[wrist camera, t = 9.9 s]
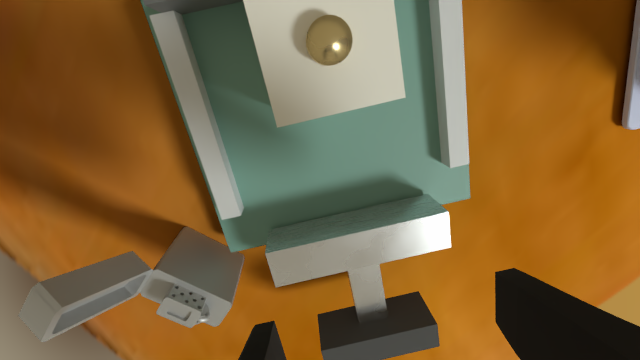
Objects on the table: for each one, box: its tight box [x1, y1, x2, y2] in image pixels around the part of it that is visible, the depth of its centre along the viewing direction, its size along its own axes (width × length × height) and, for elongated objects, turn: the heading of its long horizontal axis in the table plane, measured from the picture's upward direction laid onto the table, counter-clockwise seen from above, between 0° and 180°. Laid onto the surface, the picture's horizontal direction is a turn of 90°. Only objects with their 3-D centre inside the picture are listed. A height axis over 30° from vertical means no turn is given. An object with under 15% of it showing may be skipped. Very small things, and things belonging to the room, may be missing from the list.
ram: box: [265, 194, 451, 360], centre depth 17 cm, size 9×7×4 cm
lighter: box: [18, 227, 245, 342], centre depth 15 cm, size 7×2×8 cm, turn 56°
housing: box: [243, 0, 406, 128], centre depth 12 cm, size 4×4×6 cm
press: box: [140, 0, 470, 253], centre depth 15 cm, size 14×15×4 cm
